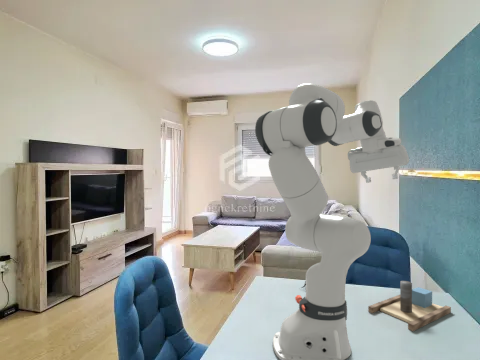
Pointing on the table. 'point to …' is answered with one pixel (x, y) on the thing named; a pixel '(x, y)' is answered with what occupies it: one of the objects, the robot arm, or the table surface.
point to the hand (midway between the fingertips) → (381, 180)
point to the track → (418, 322)
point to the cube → (421, 297)
